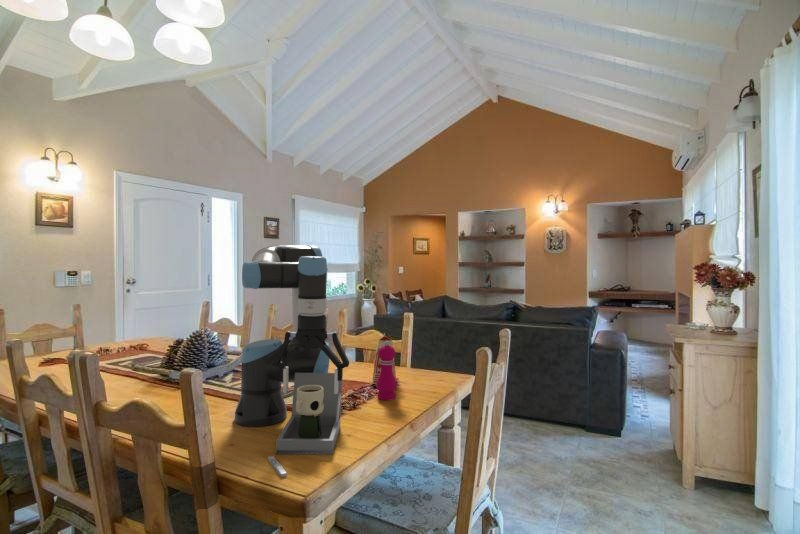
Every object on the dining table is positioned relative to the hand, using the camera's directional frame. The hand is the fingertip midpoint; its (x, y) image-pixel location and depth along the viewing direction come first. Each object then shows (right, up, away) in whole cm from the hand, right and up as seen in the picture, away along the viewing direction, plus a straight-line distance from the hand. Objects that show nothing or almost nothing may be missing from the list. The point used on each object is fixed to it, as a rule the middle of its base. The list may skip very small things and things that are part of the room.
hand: (311, 392), depth 118 cm
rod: (-5, -14, -16) cm, 21 cm away
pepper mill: (+19, -13, +36) cm, 43 cm away
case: (0, -13, +2) cm, 13 cm away
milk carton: (+18, -12, +55) cm, 59 cm away
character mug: (0, -12, 0) cm, 12 cm away
